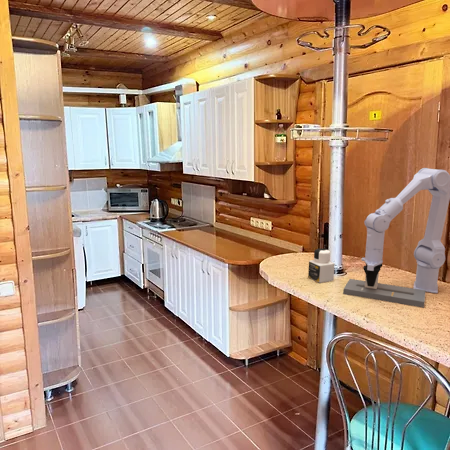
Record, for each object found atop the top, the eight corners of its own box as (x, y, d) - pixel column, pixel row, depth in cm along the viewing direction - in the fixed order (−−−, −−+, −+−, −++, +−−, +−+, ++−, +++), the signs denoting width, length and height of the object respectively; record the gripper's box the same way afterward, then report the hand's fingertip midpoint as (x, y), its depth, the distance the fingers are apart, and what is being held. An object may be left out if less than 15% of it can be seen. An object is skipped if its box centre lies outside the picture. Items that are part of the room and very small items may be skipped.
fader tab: (365, 284, 150) (367, 271, 149) (377, 286, 148) (378, 273, 147) (364, 287, 147) (365, 273, 146) (376, 289, 145) (377, 275, 144)
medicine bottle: (307, 277, 164) (309, 248, 161) (322, 275, 167) (324, 246, 164) (318, 283, 157) (320, 253, 155) (333, 280, 160) (335, 251, 158)
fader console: (349, 283, 157) (349, 278, 157) (424, 295, 146) (425, 289, 145) (343, 294, 147) (343, 288, 146) (424, 307, 135) (424, 301, 135)
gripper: (365, 241, 153) (362, 276, 156) (359, 251, 140) (356, 288, 143) (386, 244, 150) (382, 279, 152) (381, 253, 137) (377, 292, 140)
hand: (371, 284), depth 147 cm, fingers closed on fader tab, 3 cm apart
